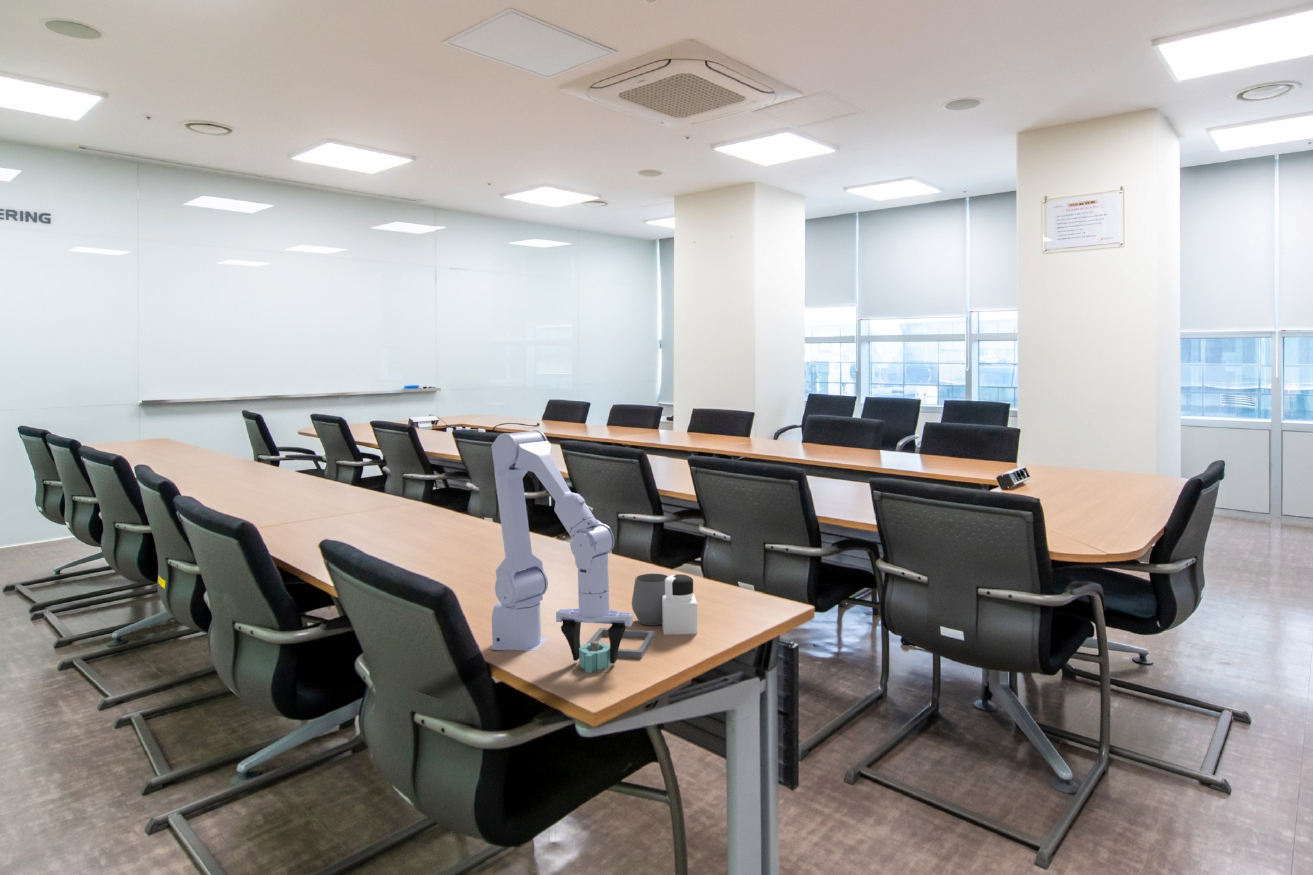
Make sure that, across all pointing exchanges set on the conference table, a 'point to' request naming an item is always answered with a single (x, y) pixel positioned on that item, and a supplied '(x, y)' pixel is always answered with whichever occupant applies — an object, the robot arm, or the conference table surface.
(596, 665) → the ring
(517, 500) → the robot arm
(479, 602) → the conference table surface
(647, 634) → the tray
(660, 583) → the cup
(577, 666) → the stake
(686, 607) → the medicine bottle
